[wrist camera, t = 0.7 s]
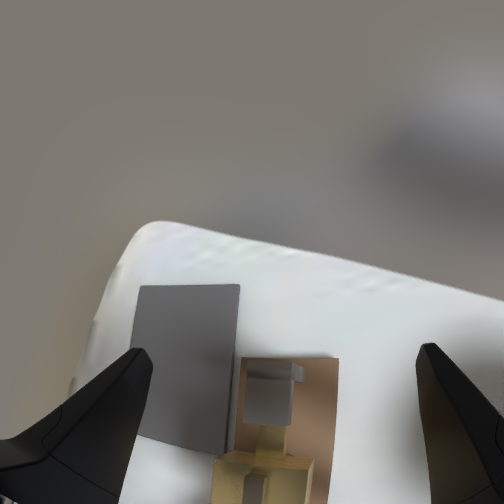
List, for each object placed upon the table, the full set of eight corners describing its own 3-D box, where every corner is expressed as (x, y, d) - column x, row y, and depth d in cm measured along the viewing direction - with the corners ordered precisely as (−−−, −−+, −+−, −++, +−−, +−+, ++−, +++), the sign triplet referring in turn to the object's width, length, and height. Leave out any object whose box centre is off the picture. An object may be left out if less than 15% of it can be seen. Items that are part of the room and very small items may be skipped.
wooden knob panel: (315, 564, 12) (302, 608, 7) (229, 553, 14) (194, 588, 9) (338, 359, 20) (336, 347, 14) (245, 358, 22) (209, 345, 17)
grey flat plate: (225, 455, 19) (223, 455, 19) (124, 429, 22) (121, 429, 22) (240, 285, 25) (238, 284, 25) (143, 287, 28) (140, 285, 28)
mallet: (298, 566, 10) (286, 595, 7) (224, 555, 12) (201, 578, 9) (319, 394, 16) (313, 396, 13) (238, 390, 17) (213, 389, 14)
